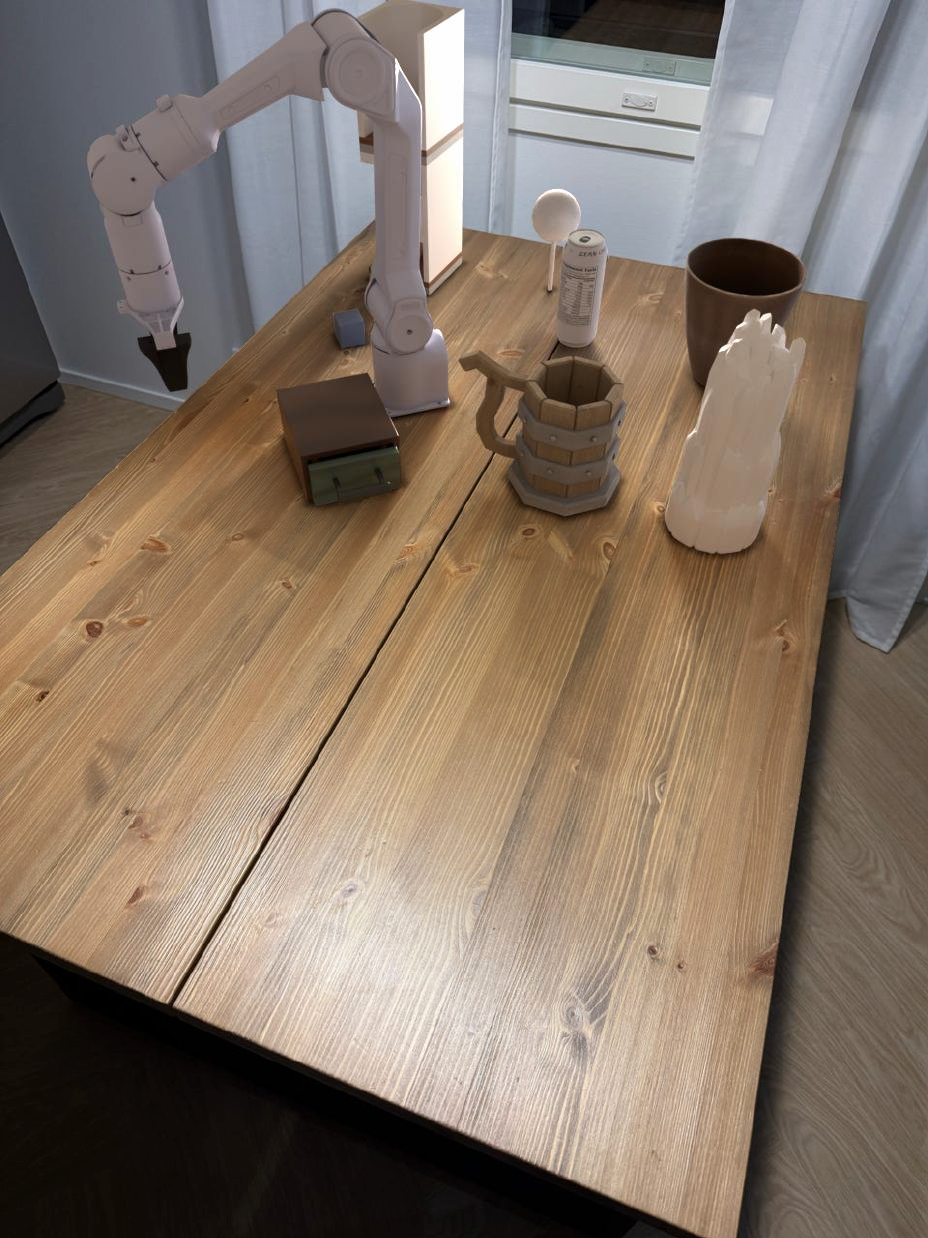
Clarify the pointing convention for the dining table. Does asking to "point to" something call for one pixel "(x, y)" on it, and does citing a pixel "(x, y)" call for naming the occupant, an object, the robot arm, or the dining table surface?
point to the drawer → (354, 475)
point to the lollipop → (555, 220)
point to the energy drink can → (580, 287)
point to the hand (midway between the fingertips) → (173, 371)
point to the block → (349, 328)
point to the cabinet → (333, 421)
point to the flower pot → (735, 293)
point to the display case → (429, 120)
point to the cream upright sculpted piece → (735, 440)
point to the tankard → (556, 430)
